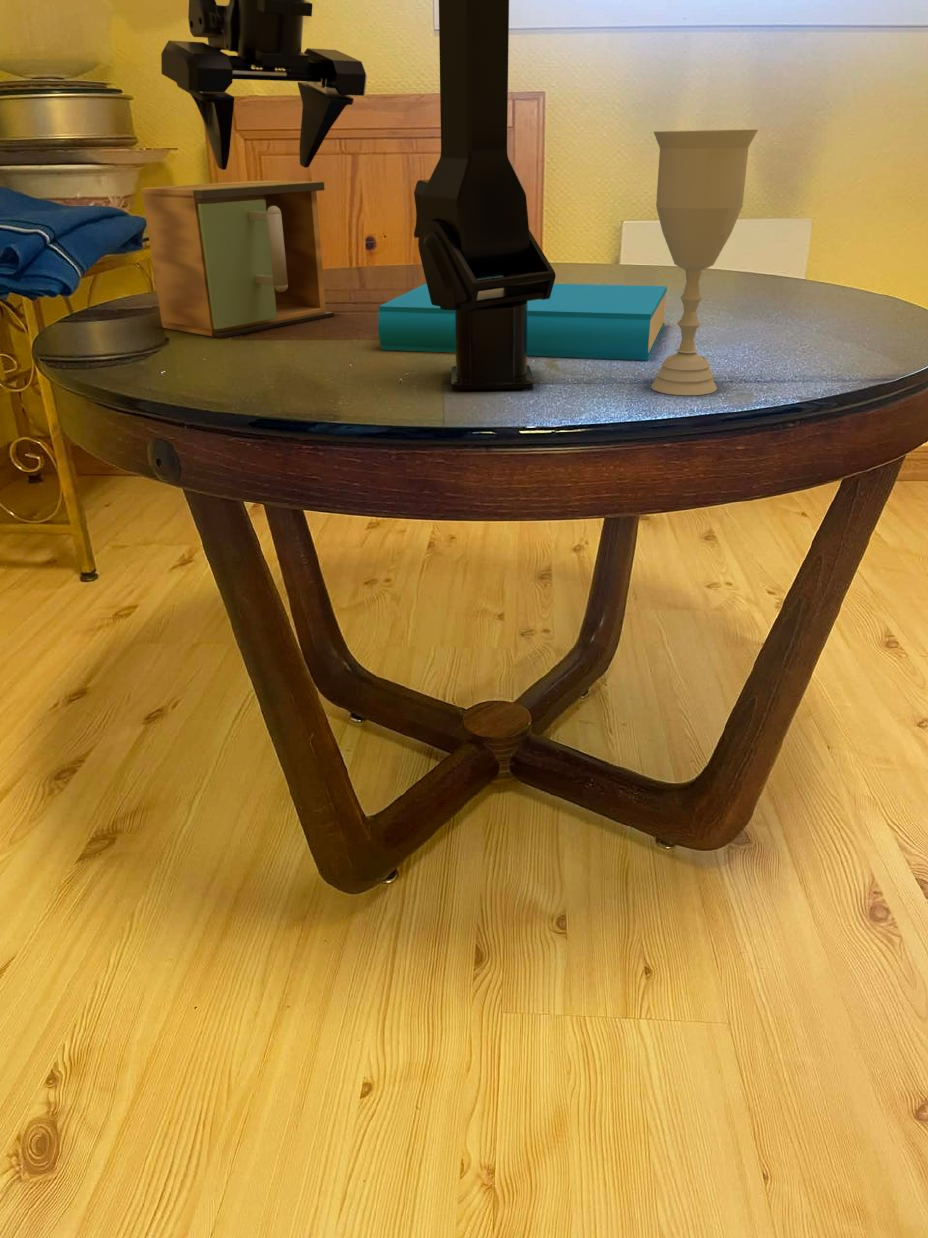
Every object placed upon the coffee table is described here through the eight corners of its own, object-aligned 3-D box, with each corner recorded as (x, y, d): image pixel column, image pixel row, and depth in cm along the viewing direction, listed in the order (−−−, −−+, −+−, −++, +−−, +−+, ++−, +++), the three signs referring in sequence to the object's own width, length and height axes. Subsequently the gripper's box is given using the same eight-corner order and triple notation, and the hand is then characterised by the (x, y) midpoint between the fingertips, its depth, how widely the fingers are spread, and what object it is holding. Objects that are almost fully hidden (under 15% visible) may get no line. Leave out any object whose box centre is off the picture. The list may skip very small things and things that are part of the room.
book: (428, 280, 104) (667, 281, 98) (430, 322, 106) (664, 326, 100) (375, 307, 89) (653, 310, 83) (378, 355, 91) (650, 361, 85)
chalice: (747, 386, 76) (776, 129, 68) (701, 403, 72) (727, 130, 64) (667, 372, 81) (685, 130, 73) (619, 388, 76) (633, 131, 68)
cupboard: (334, 315, 108) (324, 181, 102) (220, 338, 98) (201, 190, 92) (276, 307, 114) (263, 179, 108) (162, 327, 103) (141, 187, 97)
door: (304, 322, 100) (293, 200, 95) (243, 334, 95) (228, 205, 90) (273, 317, 103) (261, 198, 98) (213, 329, 98) (197, 203, 93)
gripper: (312, -30, 96) (300, 141, 105) (130, -50, 85) (136, 142, 94) (378, -4, 90) (360, 174, 99) (192, -22, 79) (191, 180, 88)
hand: (264, 167), depth 95 cm, fingers open, 9 cm apart
